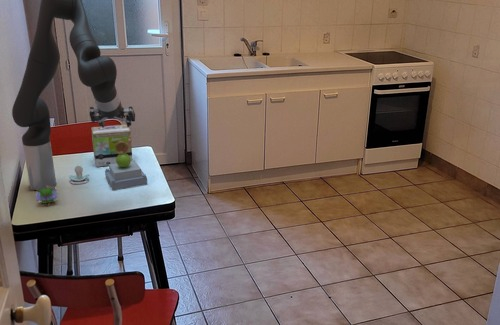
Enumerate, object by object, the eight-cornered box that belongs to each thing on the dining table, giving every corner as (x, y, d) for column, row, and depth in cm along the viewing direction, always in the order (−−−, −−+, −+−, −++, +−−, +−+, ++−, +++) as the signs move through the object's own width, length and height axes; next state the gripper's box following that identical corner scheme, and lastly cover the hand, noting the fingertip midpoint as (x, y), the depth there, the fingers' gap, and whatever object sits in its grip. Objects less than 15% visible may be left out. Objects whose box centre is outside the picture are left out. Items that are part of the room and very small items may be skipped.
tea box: (96, 168, 200) (92, 133, 195) (94, 159, 209) (90, 126, 204) (133, 163, 205) (130, 130, 200) (129, 155, 214) (127, 123, 209)
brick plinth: (112, 190, 180) (111, 175, 178) (105, 177, 191) (104, 163, 189) (147, 184, 185) (146, 169, 183) (138, 172, 196) (137, 158, 194)
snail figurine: (135, 168, 184) (132, 138, 180) (117, 170, 182) (114, 140, 178) (132, 163, 189) (130, 133, 185) (115, 165, 187) (113, 135, 183)
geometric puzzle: (57, 203, 165) (55, 180, 167) (36, 205, 163) (33, 183, 165) (59, 207, 172) (56, 185, 174) (38, 210, 169) (36, 188, 171)
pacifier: (88, 184, 185) (90, 178, 191) (86, 169, 183) (88, 163, 188) (68, 185, 184) (71, 179, 190) (66, 170, 182) (68, 164, 187)
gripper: (131, 90, 156) (137, 115, 171) (85, 90, 155) (95, 115, 169) (130, 111, 153) (136, 134, 168) (83, 111, 152) (94, 134, 166)
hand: (116, 124), depth 169 cm, fingers open, 8 cm apart
